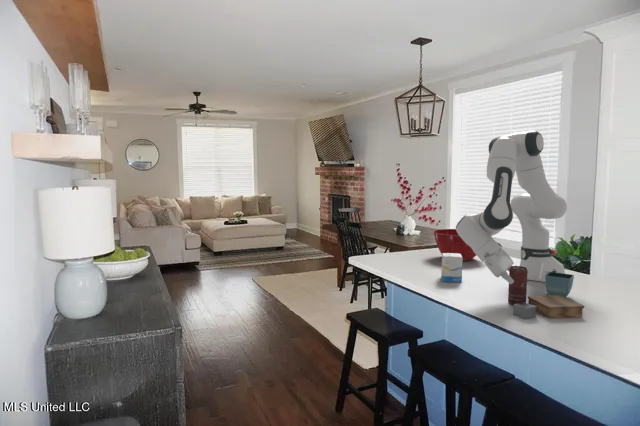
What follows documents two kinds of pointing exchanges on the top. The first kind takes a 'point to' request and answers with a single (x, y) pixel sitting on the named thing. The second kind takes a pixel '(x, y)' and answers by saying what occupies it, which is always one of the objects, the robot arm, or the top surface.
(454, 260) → the ink box
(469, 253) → the mixing bowl
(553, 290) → the flower pot
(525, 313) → the steel block
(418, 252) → the top surface
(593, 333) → the top surface
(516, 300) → the can
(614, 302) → the top surface
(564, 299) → the stand
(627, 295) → the top surface
